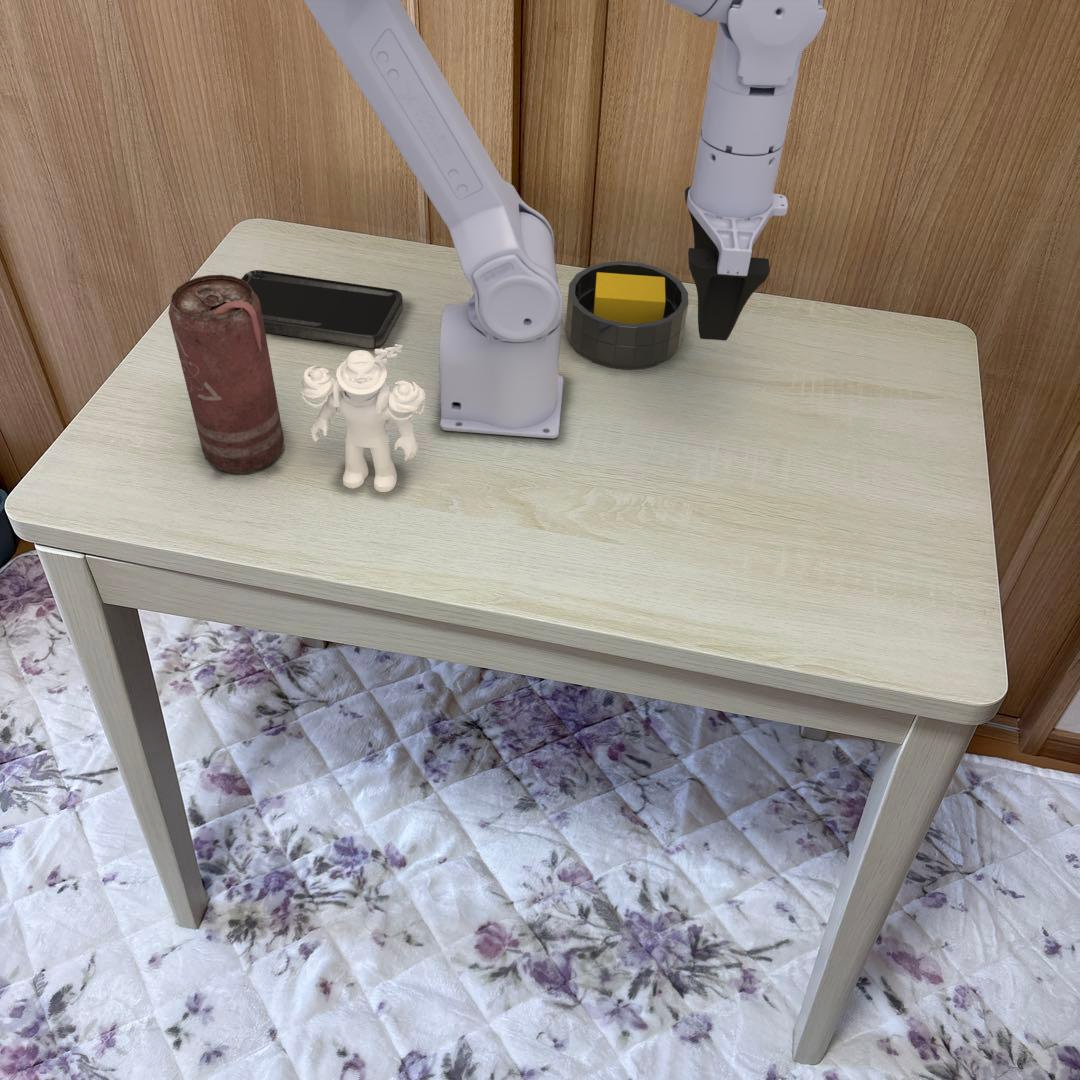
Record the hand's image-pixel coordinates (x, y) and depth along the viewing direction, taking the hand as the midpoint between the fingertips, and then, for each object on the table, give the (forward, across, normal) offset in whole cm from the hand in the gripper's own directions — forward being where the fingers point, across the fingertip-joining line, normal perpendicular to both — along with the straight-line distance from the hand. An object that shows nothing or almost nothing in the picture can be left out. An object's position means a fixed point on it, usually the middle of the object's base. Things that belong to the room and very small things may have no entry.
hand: (710, 308), depth 81 cm
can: (+10, -10, +35) cm, 38 cm away
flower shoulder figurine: (+10, -12, +25) cm, 29 cm away
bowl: (+9, +9, +6) cm, 14 cm away
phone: (+9, +9, +34) cm, 36 cm away
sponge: (+9, +9, +6) cm, 14 cm away
